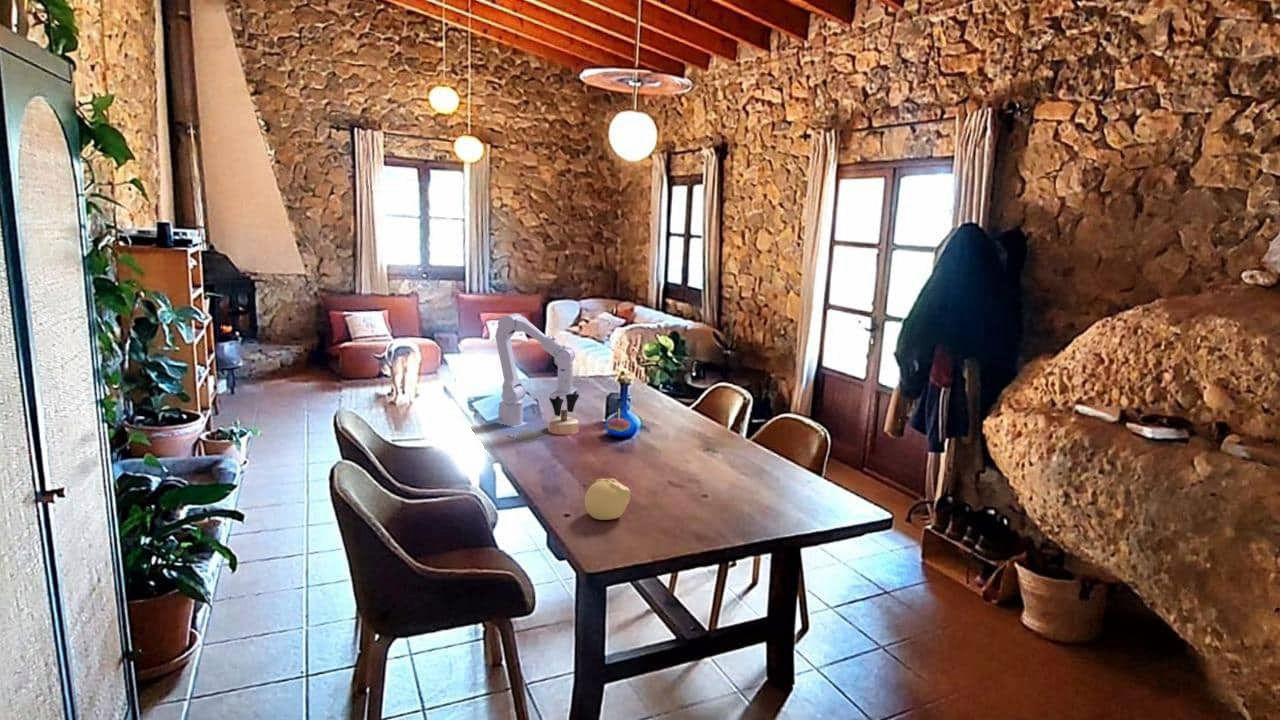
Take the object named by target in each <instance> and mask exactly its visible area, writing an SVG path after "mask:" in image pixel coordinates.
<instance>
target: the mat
mask: <svg viewBox="0 0 1280 720" xmlns="http://www.w3.org/2000/svg"><path fill="white" fill-rule="evenodd" d="M519 431H520V432H521V431H522V432H521V433H522V434H521V433H520V432H519ZM519 431H518V432H519V434H518V435H516V439H515V436H514V435H513V438H512V439H515V440H517V439H518V441H522V442H525V443H528V444H529V443H532V442H536V441H538V440H541V439H544V438H546V437H549V436H551V435H550V434H546V433H542V432H540V431H537V430H532V429H528V428H525V429H522V430H519ZM507 435H509V434H506V435H505V437H507ZM509 436H510V435H509Z"/></svg>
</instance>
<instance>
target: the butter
mask: <svg viewBox="0 0 1280 720" xmlns="http://www.w3.org/2000/svg"><path fill="white" fill-rule="evenodd" d="M630 495H631V490H630V488H629V487H627V486H626V485H623V484H622V483H621V482H619V481H618V479H616V478H613V477H612V478H597V479H596V480H595V482H593V484H591V485H590V487H589V488H588V489H587V491H586V493H585V496H584V507H585V509H586V511H587V513H588V514H589V515H590V517H592V518H593V519H595V520H600V521H601V520H602V521H607V520H616V519H618V518H620V517H621V516H622V515H623V513H624V512H625V510H626V508H627V506H628V504H629V503H630V501H631V497H630Z"/></svg>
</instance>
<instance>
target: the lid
mask: <svg viewBox="0 0 1280 720" xmlns="http://www.w3.org/2000/svg"><path fill="white" fill-rule="evenodd" d="M549 420H550V423H551V424H553V425H557V426H573V425H576V424H578V422H579V420H578V419H577V418H575V417H570V416H568V411H567V409H561V414H560V416H556V417H553V418H550V419H549Z"/></svg>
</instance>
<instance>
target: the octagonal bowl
mask: <svg viewBox="0 0 1280 720" xmlns="http://www.w3.org/2000/svg"><path fill="white" fill-rule="evenodd" d="M547 425H548V426H547V431H548V433H551V434H555V435H573V434H576V433H579V432H580V421H578V424H576V425H573V426H557V425H553V424H551V423H550V419H548V423H547Z"/></svg>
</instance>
